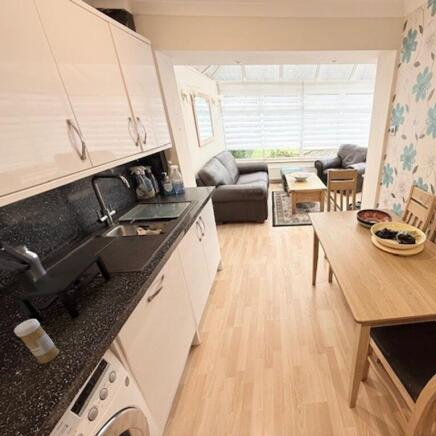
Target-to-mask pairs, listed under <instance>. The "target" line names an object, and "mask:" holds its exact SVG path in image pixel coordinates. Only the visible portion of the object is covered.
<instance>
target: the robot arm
mask: <svg viewBox="0 0 436 436" xmlns="http://www.w3.org/2000/svg"><path fill="white" fill-rule="evenodd" d="M0 256H2V257H4V258H6V259H8V260H6V259H4V258H1V257H0V269H4V270H9V271H13V272H16V273H14V276H15V278H16V279H17V280H18V282H19V283H20V284H21V286H22V287H23V289H24V290H26V291H27V292H28V293H30V292H37V291H39V290H40V288H39V287H38V285H37V284H36V282H35V281H34V280H33V279H34V276H33V274H32V273H31V271H30V270H31V269H32V268H33V267H32V266H31V264H33V263H34V261H33V260H31V259H30V258H28V257H26V256H24V255H22V254H21V253H19V252H17V251H15V250H13V248H11V246H9V245H8V243H7V242H6V241H0ZM14 262H16V263H14Z"/></svg>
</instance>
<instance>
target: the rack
mask: <svg viewBox="0 0 436 436" xmlns="http://www.w3.org/2000/svg"><path fill="white" fill-rule="evenodd" d="M95 263H96V266H97V267H98V269H99V271H95V272H92V273H91V274H90V275H89V276H88V277H87V278H85V280H84V281H83V282H82V281H81V279H80V278H81V277H82V276H83V275H85V273H86V272H87V271H88V270H89V269H90V268H92V267H93V266H94V264H95ZM100 273H101V275H102V277H103V279H104V280H105V281H110V280H111V278H112V276H111V274H110V272H109V271H108V268H107V266H106V264H105V263H104V260H103V259H102V256H101V254H96V255H95V254H94V255H88V256H79V257H72V258H71V257H69V258H63V259H62V260H60V261H59V262H58V263H57V264H56V265H54V266H53V267H52V268H50V269H49V270H48V271H46V274H44V275H43V276H42V277H40V278H39V279H38V280H37V281H35V282H36V284H37V285H38V287H39V288H40V290H39V291H37V292H30V293H28V292H27V291H26V290H25V289H24V290H22V291H21V292H20V293H19V294H18V295H16V296H15V297H14V300H15V301H16V302H17V303H18V305H19V307H20V308H22V310H23V311H24V313H25V314H26V316H28V317H29V320H30V319H36V320H37V321H38V322H39V323H41V322H42V321H43V318H42V317H41V315H40V314H39V313H38V311H39V312H42V311H47V310H48V309H49V308H50V307H51V306H52V305H53V304H55V302H56V301H58V300H60V302H61V304H60V305H59V308H65V309H66V311H67V312H68V314H69V315H70V317H71V318H72V319H77V318H79V316H80V314H81V313H80V311H78V308H77V307H76V306H75V304H74V301H75V300H76V299H77V298H78V297H79V296H80V295H81V294H82V293H83V292H84V291H85V290H86V288H87V287H88V286H89V285H90V284H91V283H92V282H93V281H94V280H95V279H96V278H97V276H99V275H100ZM81 282H82V283H81ZM80 283H81V284H80ZM79 284H80V285H79ZM73 285H74V286H75V285H79V286H78V287H77V288H76V289H75V290H74V291H73V292H72V293H71V294H70V295H69V294H68V293H67V291H68V290H69V289H70V288H71V287H72V286H73ZM46 297H50V298H48V299H47V300H46V301H45V302H44V303H42V305H41V306H40V307H39V308H38V309H37V310H38V311H37V310H36V308H35V307H34V306H33V304H32V303H31V302H30V300H32V299H39V298H46Z"/></svg>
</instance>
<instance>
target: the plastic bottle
mask: <svg viewBox="0 0 436 436" xmlns="http://www.w3.org/2000/svg"><path fill="white" fill-rule="evenodd" d="M12 249H13V250H15V251H17V252H19V253H21V254H22V255H24V256H26V257H28V258H30V259H31V260H33V261H34V263H33V264H31V266H32V267H33V268H32V269H31V270H30V271H31V273H32V274H33V276H34V279H33V280H34V281H37V280H38V279H39V278H40V277H42V276H43V275H44V274H46V273H47V271H46V269H44V267H43V265H42V263H41V261H40V258H39V255H38V254H37V253H35V252H33V251H31V250H29V249H28V247H27V246H26V245H24V244H23V245H18V246H16V247H13V248H12ZM13 262H14V261H13ZM14 263H16V262H14Z"/></svg>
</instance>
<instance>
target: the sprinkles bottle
mask: <svg viewBox="0 0 436 436" xmlns="http://www.w3.org/2000/svg"><path fill="white" fill-rule="evenodd" d="M40 323H41V322H40ZM40 323H39V322H38V321H37V320H36V319H30V318H29V319H26V320H24V321H23V322H21V323H19V324H18V325H17V326H16V327H15V328H14V329H13V332H14V334H15V335H16V336H17V337H18V338H20V340H22V342H23V343H24V344H25V346H26V347H27V348H28V349H29V351H30V352H31V353H32V355H33V356H34V357H35V358H36V359H37V361H38V363H39V364H48V363H49V362H51V361H53V360H54V359H55V358H56V357H57V356H59V354H60V349H59V348H57V346H56V345H55V343H54V342H53V340H52V339H51V338H50V336H49V335H48V334H47V332H46V331H45V330H44V329H43V327H42V326H41V324H40Z"/></svg>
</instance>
